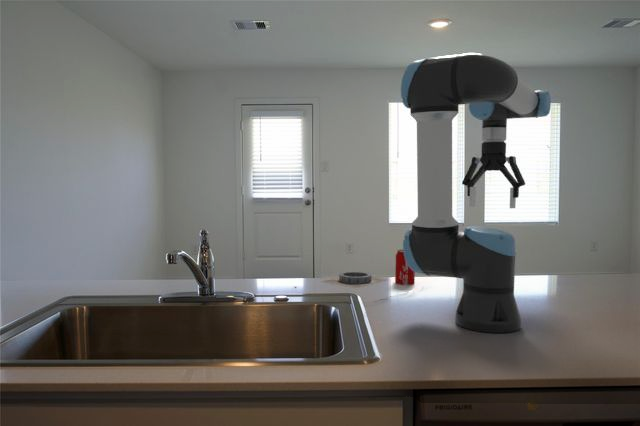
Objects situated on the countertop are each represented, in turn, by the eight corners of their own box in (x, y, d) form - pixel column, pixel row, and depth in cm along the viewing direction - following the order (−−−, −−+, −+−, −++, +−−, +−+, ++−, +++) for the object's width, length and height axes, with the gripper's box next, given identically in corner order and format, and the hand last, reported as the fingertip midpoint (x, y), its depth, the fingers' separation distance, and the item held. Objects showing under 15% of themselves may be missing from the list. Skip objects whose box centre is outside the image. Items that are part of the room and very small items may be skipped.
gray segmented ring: (358, 285, 165) (358, 278, 165) (333, 280, 172) (333, 274, 172) (377, 280, 173) (377, 274, 173) (352, 276, 180) (352, 270, 180)
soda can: (391, 286, 171) (391, 249, 170) (407, 284, 174) (407, 248, 173) (402, 290, 165) (402, 252, 165) (418, 288, 168) (419, 251, 167)
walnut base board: (356, 292, 161) (356, 287, 161) (321, 286, 170) (321, 281, 170) (388, 283, 175) (388, 279, 175) (354, 278, 184) (354, 274, 184)
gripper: (537, 140, 163) (535, 208, 165) (463, 144, 180) (461, 205, 181) (528, 139, 158) (525, 209, 159) (453, 142, 174) (451, 206, 176)
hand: (491, 207), depth 170 cm, fingers open, 13 cm apart
